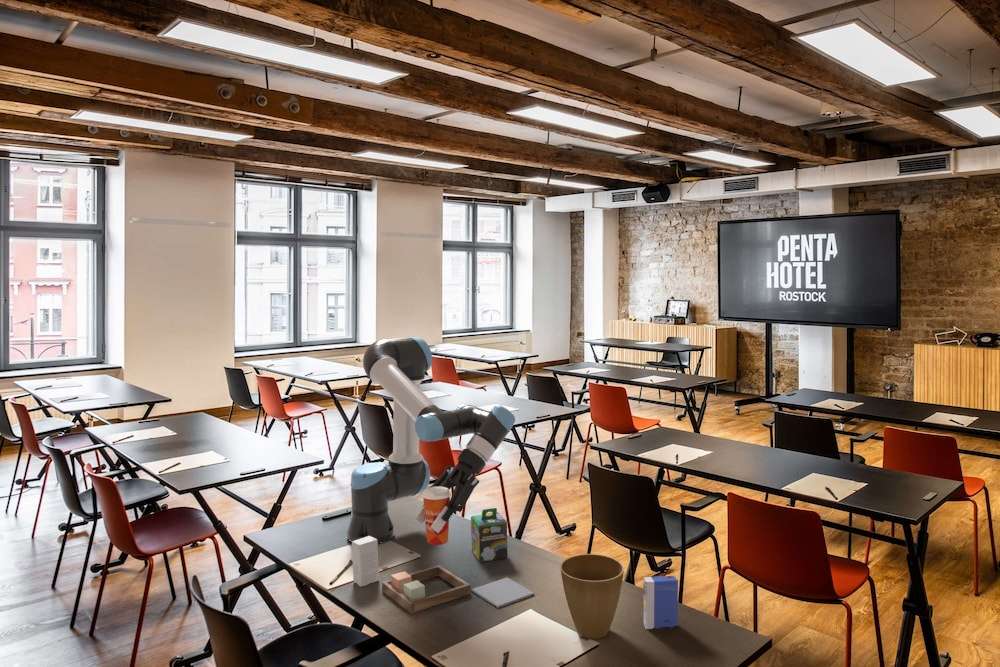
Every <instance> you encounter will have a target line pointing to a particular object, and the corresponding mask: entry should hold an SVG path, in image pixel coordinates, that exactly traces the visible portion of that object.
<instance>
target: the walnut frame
mask: <svg viewBox="0 0 1000 667" xmlns="http://www.w3.org/2000/svg"><path fill="white" fill-rule="evenodd" d="M408 574H409V575H410V576H411V577H412V582H413V581H416V580H418V581H419V582H422V581H425V579H426V580H428V578H429V579H431V578H430V577H432V578H434V577H433V576H435V577H437V576H436V575H439V576H440V577H439V576H438V577H439V578H441V577H442V578H441V579H442V580H444V581H446V583H449V584H451V586H453V587H452V588H451V589H447V590H444V591H441V592H439V593H438V592H437V593H435V594H432V595H429V596H425V598H422V599H419V600H416V601H413V602H412V601H411V600H410V599H408V598H407V597H406V596H404V595H403V594H402V593H400V592H399V591H398V590H396V589H395V588H394V587H392V586H391V579H388V580H384V581H382V582H381V591H382V592H383V593H384V594H385V595H387V596H388V597H389V598H391V600H393V601H394V602H396V604H398V605H399V606H400V607H402V608H403V609H404V610H406V611H407V612H408V613H409V614H411V615H412V614H415V613H418V612H421V611H424V610H426V609H429V608H433V607H436V606H438V604H439V605H441V603H442V604H444V603H447V602H450V601H453V600H456V599H459V598H462V597H465V596H468V595H470V594H471V584H470V583H468V582H467V581H465V580H463V579H462V578H460V577H458V575H456V574H454V573H453V572H451V571H450V570H448V569H446V568H444V567H443V566H442V565H440V564H438V565H434V566H432V567H428V568H423V569H421V570H418V571H415V572H411V573H408ZM421 580H422V581H421ZM435 605H436V606H435ZM432 606H433V607H432Z"/></svg>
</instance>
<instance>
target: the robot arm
mask: <svg viewBox="0 0 1000 667" xmlns="http://www.w3.org/2000/svg"><path fill="white" fill-rule="evenodd" d="M432 365H433V354H432V349H431V348H430V346H429V345H428V343H427V341H426V340H424V339H423V338H422V337H417V336H416V337H414V336H407V337H406V336H405V337H397V338H390V339H389V338H388V339H387V338H386V339H385V338H384V339H379V340H376V341H374V342H372V343H371V344H370V345H369V346H368V347H367V348H366V350H365V352H364V354H363V358H362V366H363V370H364V372H365V374H366V376H367V377H368V378H369V380H370V381H372V383H374V384H376V385H379V386H381V387H382V388H383V389H384V391H386V392H387V394H388V395H389V396H390V397H392V399H393V417H392V418H393V421H392V422H393V424H392V425H393V427H392V428H393V431H392V432H393V435H392V436H393V437H392V438H393V440H392V442H393V443H392V446H393V447H392V448H393V449H392V453H391V454H390V455H389V456H388V465H387V464H386V463H384V462H383V461H382V462H381V461H380V462H379V461H377V462H368V463H367V462H366V463H363V464H361V465H359V466H357V467H355V469H353V471H352V473H351V478H350V490H351V491H350V492H351V517H350V521H349V524H348V528H347V532H346V533H347V534H346V536H347V537H348V539H349V540H351V541H355V540H358V539H361V538H364V537H367V536H371V537H373V538H375V539H377V540H378V543H379V544H381V543H380V542H383V543H385V542H384V541H386V542H388V541H390V540H392V539H393V538H394V537H395V528H394V523H393V522H392V521H393V520H392V519H391V515H390V513H389V502H392V501H396V500H402V499H404V498H409V497H414V496H416V495H419V494H423V491H424V490H425V489H427V488H429V487H428V486H429V484H430V480H431V470H430V468H429V464H428V462H427V461H426V460H425V459H424V456H423V455H422V454H421V453H420V452H419V451H420V441H422V442H425V443H427V442H438V441H440V440H446V439H449V438H453V437H454V438H455V437H460V436H465V435H470V434H472V437H471V438H470V439H469V441H468V442H467V443H466V445H465V448H464V449H463V448H462V451H461V452H460V453H459V454H458V456H457V458H456V459H457V464H455V466H453V467H452V466H450V464H448V465H447V466H445V469H444V470H443V472H442V473H441V474H440V475H439V477H437V478H436V480H435V481H434V483H433V484H432V485H431V486H430V487H437V486H439V487H446V488H448V489H449V490H451V489H452V488H453V487H454V489H453V493H452V494H451V496H450V500H449V504H446V506H447V507H446V506H445V507H444V508H443V510H442V511H441V513H440V514H439V515H438V517H437V518H436V520H435V521H434V523H433V524H432V525H431V528H432V529H434V530H435V531H436V532H437V533H439V532H440V530H441V529H442V527H443V526H444V525H445V523H446V522H447V521H448V520H449V521H450V518H451V517H452V516H453V514H454V513H456V512H459V513H461V512H462V511H463V509H464V508H465V505H466V504H467V502H468V500H469V498H470V497H471V495H472V493H473V492H474V489H475V488H476V487H477V486H478V484H479V483H480V480H479V479H478V477H476V475H479V474H481V473H482V471H483V470H484V468H485V467H486V463H488V462H489V461H490V459H491V457H492V456H493V455H494V453H495V452H496V451H497V450H498V448H499V447H500V445H501V444H502V442H503V441H504V439H505V438H506V437H507V436H508V434H509V433H510V432H511V429H512V428H513V427H514V425H515V423H516V417H515V415H514V414H513V412H511V411H510V410H509V409H508V408H506V407H504V406H502V405H501V404H497V405H494V406H493V407H492V408H491V409H490V411H489V410H485V409H483V408H480V407H477V406H475V405H472V404H466V403H463V404H461V405H459V406H457V407H456V409H453V410H447V411H442V409H440V407H438V406H437V405H436V404H435V403H434V402H433V401H432V400H431V399H430V398H429V397H428V396H427V395H426V394H425V393H424V392H423V391H422V390H421V383H422V382H423V381H424V380H425V378H426V377H425V373H426V372H428V371H429V370H430V369H431V367H432ZM448 507H449V508H448ZM414 519H415V520H416V521H418V523H420V524H422V525H423V524H424V523H425V512H424V504H423V505H422V507H421V508H420V510H419V511H418V513H417V514H416V515H415V517H414ZM393 536H394V537H393ZM392 537H393V538H392ZM391 538H392V539H391ZM348 539H347V540H348ZM387 540H388V541H387Z"/></svg>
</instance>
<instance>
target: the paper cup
mask: <svg viewBox="0 0 1000 667" xmlns="http://www.w3.org/2000/svg"><path fill="white" fill-rule="evenodd" d="M451 493H452V492H450V489H448V488H446V487H439V486H437V487H431V486H430V487H427V488H426V489H425V490H424V491H423V492H422V493H421V494H422V495H421V497H422V500H423V505H424V512H425V521H424V523H425V533H426V534H425V535H426V541H427V543H428V545H432V546H441V545H444V544H446V543H448V541H449V524H450V523H449V522H450V519H449V520H448V521H447V522H446V523H445V525H444V526H443V527H442V529H441V530H440V532H439V533H437V532H436V531H435V530H434V529H432V528H431V525H432V524H433V523H434V521H435V520H436V518H437V517H438V515H439V514H440V513H441V511H442V510H443V508H444V507H445V506H446V504H449V502H450V499H451V496H452V494H451ZM446 507H447V506H446ZM448 508H449V507H448Z"/></svg>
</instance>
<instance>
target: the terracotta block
mask: <svg viewBox="0 0 1000 667" xmlns="http://www.w3.org/2000/svg"><path fill="white" fill-rule="evenodd" d="M409 574H410V573H408V572H406V571H405V570H404V571H400V572H397V573H394V574H391V575H390V580H391V586H392V587H394V588H395V589H396V590H398V591H399V592H400V593H402V594H403V595H404V584H406V583H409V582H412V577H411V576H410V575H409Z"/></svg>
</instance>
